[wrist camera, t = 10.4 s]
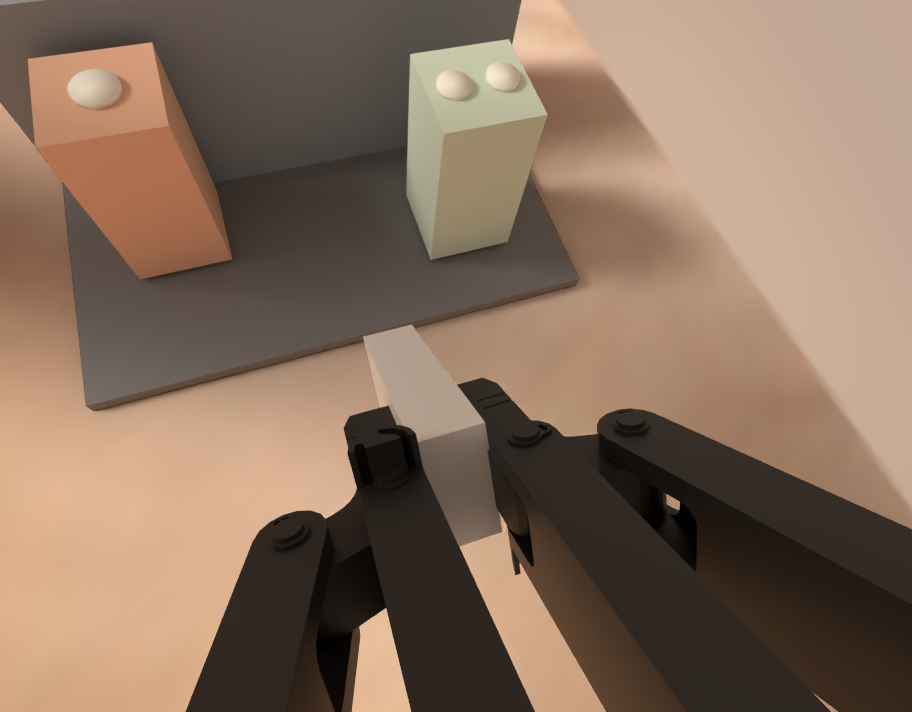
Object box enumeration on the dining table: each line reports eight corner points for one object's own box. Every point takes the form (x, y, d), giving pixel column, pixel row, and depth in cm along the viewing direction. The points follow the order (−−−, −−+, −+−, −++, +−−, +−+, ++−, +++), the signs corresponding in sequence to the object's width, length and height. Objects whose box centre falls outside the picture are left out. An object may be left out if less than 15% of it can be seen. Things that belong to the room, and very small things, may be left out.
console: (575, 285, 35) (665, 129, 24) (93, 410, 29) (-107, 285, 18) (469, 61, 42) (498, -145, 31) (62, 126, 36) (-97, -100, 25)
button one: (232, 259, 32) (166, 120, 23) (140, 279, 31) (30, 141, 22) (217, 191, 34) (149, 36, 25) (128, 208, 33) (23, 52, 24)
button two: (507, 241, 35) (549, 109, 25) (430, 260, 34) (444, 128, 24) (480, 179, 36) (510, 33, 27) (406, 194, 35) (410, 48, 26)
